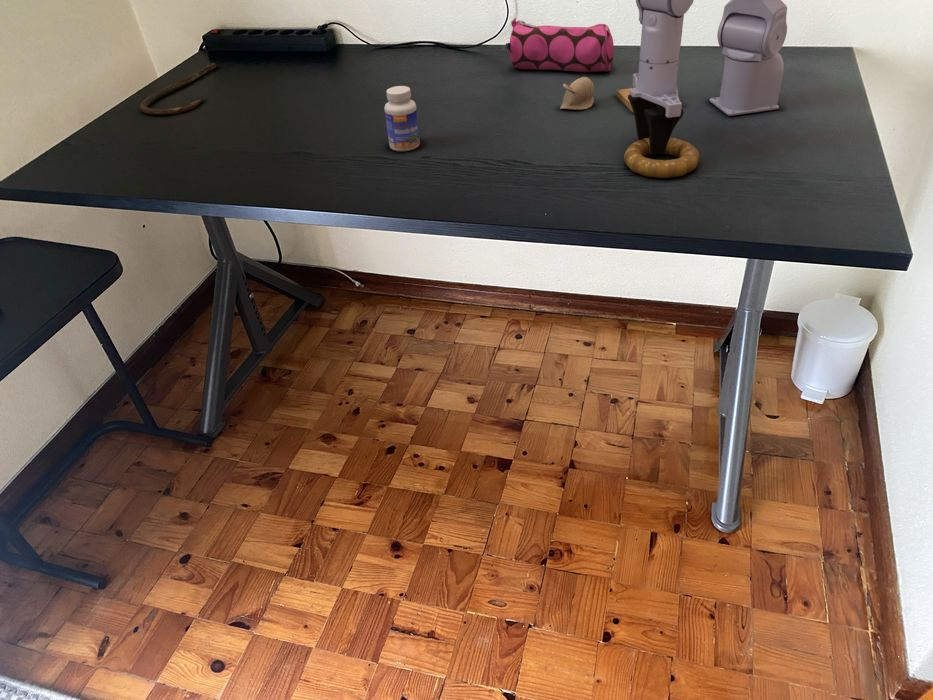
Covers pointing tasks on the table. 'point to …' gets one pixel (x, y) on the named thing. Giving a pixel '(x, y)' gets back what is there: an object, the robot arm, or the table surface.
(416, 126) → the pill bottle
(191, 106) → the hook
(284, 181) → the table surface
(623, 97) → the stand
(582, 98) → the decorative ornament
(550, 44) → the pencil case
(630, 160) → the ring
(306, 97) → the table surface
